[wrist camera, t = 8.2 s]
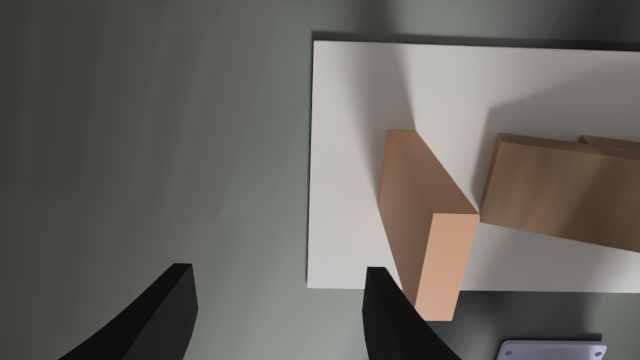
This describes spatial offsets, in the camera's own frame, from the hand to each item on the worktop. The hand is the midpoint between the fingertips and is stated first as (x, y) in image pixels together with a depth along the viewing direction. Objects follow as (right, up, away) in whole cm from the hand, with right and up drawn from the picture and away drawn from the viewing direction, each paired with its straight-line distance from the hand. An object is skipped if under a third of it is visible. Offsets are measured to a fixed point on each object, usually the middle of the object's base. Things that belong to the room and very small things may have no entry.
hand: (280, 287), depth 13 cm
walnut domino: (+11, +4, +9) cm, 14 cm away
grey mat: (+16, +3, +10) cm, 19 cm away
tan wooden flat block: (+6, +4, +9) cm, 12 cm away
